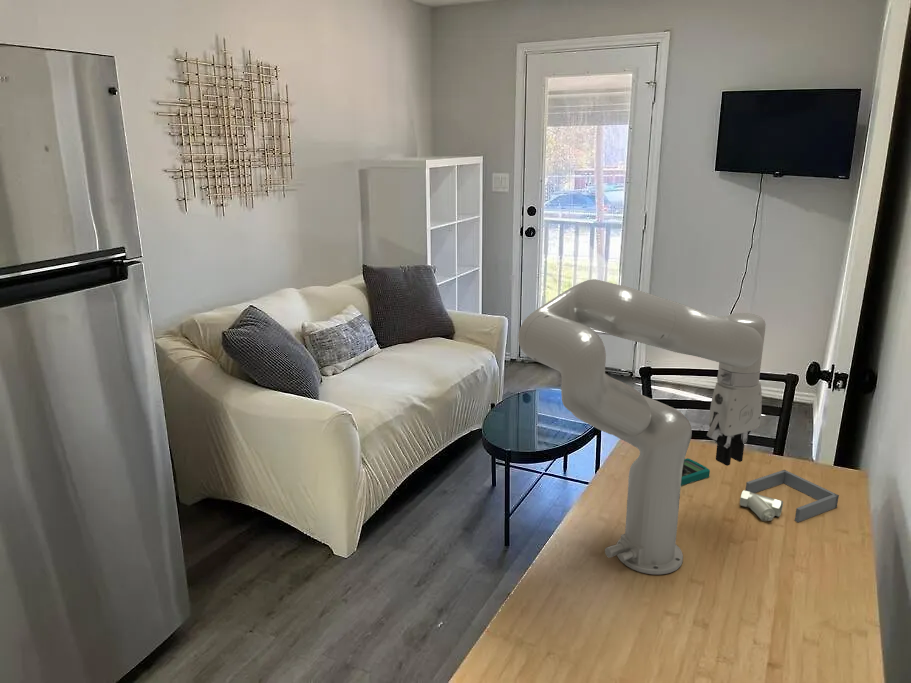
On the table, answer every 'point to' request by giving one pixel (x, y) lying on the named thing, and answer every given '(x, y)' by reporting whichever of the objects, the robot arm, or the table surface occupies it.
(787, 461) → the table surface
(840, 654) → the table surface
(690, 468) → the digital multimeter
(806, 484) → the gray u-shaped frame
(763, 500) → the pipe fitting
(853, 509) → the table surface
